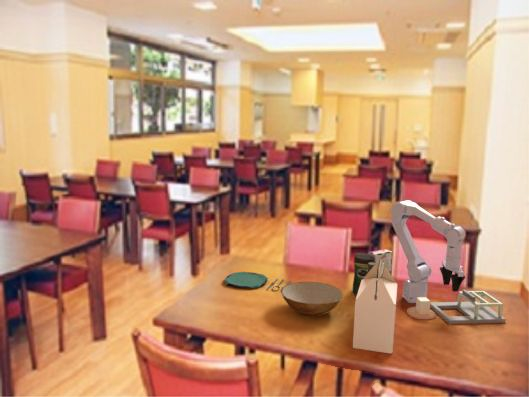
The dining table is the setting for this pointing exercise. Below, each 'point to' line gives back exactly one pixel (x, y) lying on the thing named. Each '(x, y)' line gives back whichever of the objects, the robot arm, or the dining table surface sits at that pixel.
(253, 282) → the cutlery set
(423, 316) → the terracotta dish
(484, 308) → the puzzle board
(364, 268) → the coffee jar
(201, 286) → the dining table surface
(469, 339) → the dining table surface
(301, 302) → the bowl
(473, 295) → the cream slatted rack
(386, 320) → the gable box
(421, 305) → the cream block
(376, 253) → the candy bar box
